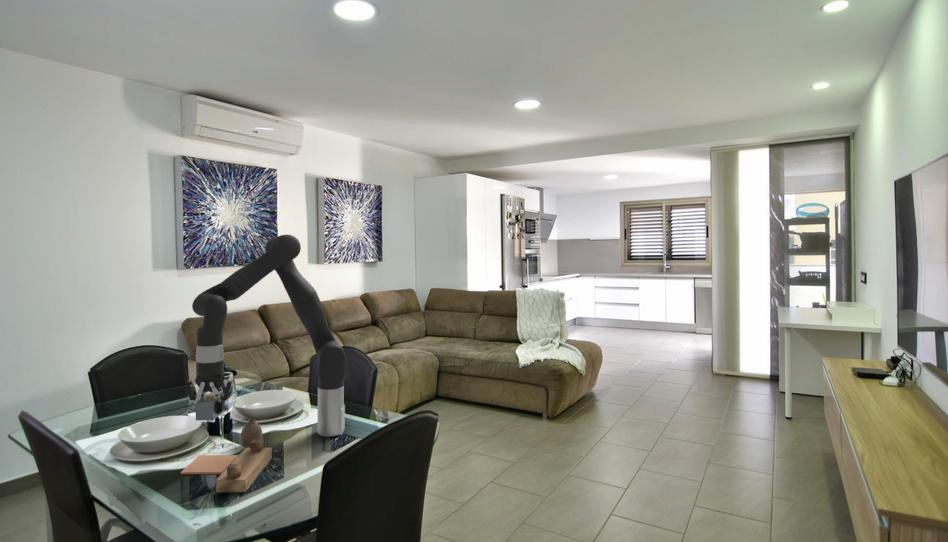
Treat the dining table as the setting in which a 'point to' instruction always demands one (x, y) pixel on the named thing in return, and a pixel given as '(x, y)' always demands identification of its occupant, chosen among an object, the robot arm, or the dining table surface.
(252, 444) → the plane body
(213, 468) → the mat
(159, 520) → the dining table surface
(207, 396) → the grey block
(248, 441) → the brown oval piece
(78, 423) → the dining table surface
